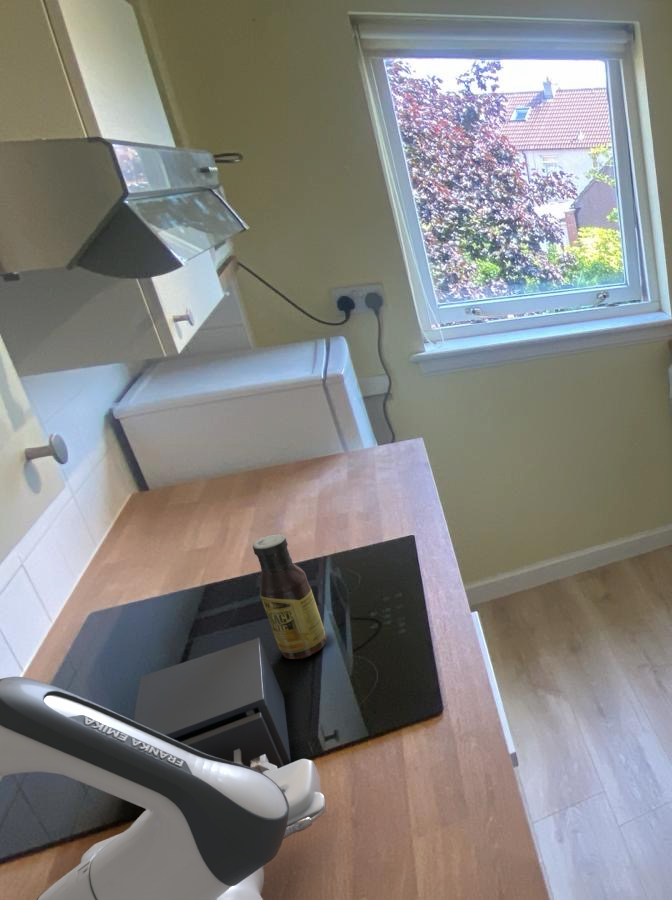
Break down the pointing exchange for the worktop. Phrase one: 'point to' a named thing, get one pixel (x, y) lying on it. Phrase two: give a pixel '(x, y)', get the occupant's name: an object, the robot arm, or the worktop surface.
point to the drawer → (235, 739)
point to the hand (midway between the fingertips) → (210, 780)
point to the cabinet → (214, 694)
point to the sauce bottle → (288, 600)
